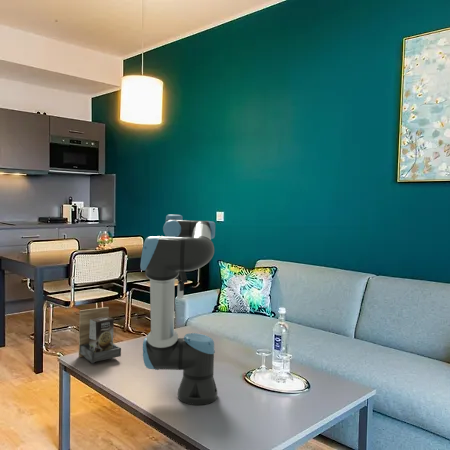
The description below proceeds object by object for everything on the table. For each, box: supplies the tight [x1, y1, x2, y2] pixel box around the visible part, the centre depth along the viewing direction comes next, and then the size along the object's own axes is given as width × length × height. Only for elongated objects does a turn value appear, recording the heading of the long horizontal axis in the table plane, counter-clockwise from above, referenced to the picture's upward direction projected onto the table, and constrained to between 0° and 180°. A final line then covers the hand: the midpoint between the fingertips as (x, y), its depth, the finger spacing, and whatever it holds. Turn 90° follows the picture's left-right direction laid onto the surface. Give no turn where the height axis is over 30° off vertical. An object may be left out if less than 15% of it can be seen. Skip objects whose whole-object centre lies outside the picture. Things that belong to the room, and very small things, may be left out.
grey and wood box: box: [78, 306, 122, 364], centre depth 203 cm, size 15×14×22 cm
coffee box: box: [89, 316, 115, 353], centre depth 203 cm, size 9×6×16 cm
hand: (171, 295), depth 200 cm, fingers open, 13 cm apart
